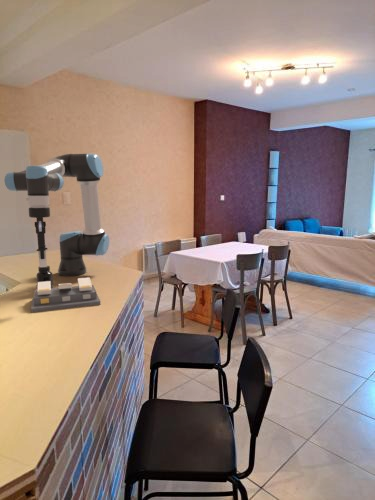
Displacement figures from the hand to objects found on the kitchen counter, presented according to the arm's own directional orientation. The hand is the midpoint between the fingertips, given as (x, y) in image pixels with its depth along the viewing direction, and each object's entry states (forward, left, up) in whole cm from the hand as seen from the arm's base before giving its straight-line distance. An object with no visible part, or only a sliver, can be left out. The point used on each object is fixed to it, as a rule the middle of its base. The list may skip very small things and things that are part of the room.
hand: (43, 266), depth 139 cm
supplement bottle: (-20, 0, -17) cm, 26 cm away
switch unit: (-1, +8, -16) cm, 18 cm away
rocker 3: (-3, +16, -10) cm, 19 cm away
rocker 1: (-3, 0, -10) cm, 10 cm away
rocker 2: (-3, +8, -10) cm, 13 cm away
